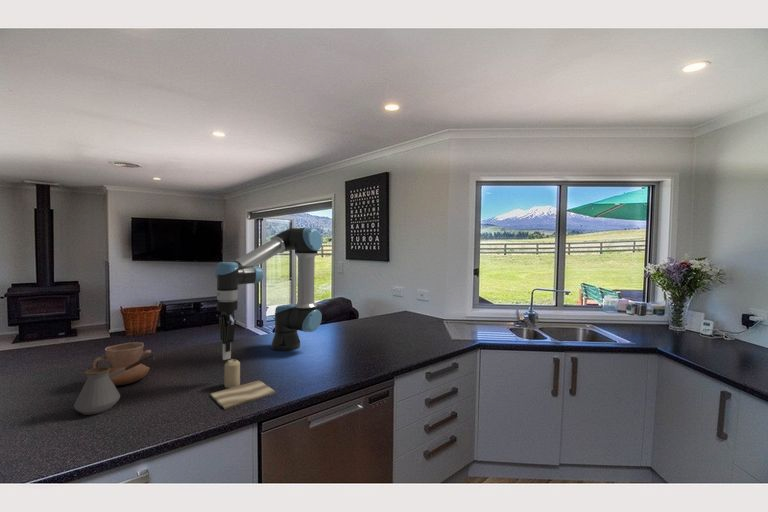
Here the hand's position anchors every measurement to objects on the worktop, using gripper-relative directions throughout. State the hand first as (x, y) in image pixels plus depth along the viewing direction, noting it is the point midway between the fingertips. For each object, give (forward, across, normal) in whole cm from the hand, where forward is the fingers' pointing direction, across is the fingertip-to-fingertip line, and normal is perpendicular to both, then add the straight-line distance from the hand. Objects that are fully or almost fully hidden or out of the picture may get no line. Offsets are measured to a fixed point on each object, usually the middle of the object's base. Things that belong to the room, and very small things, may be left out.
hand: (226, 358), depth 132 cm
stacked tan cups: (+9, -26, -30) cm, 41 cm away
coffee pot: (+9, -4, -34) cm, 35 cm away
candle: (+9, +6, 0) cm, 11 cm away
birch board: (+9, +17, 0) cm, 19 cm away
